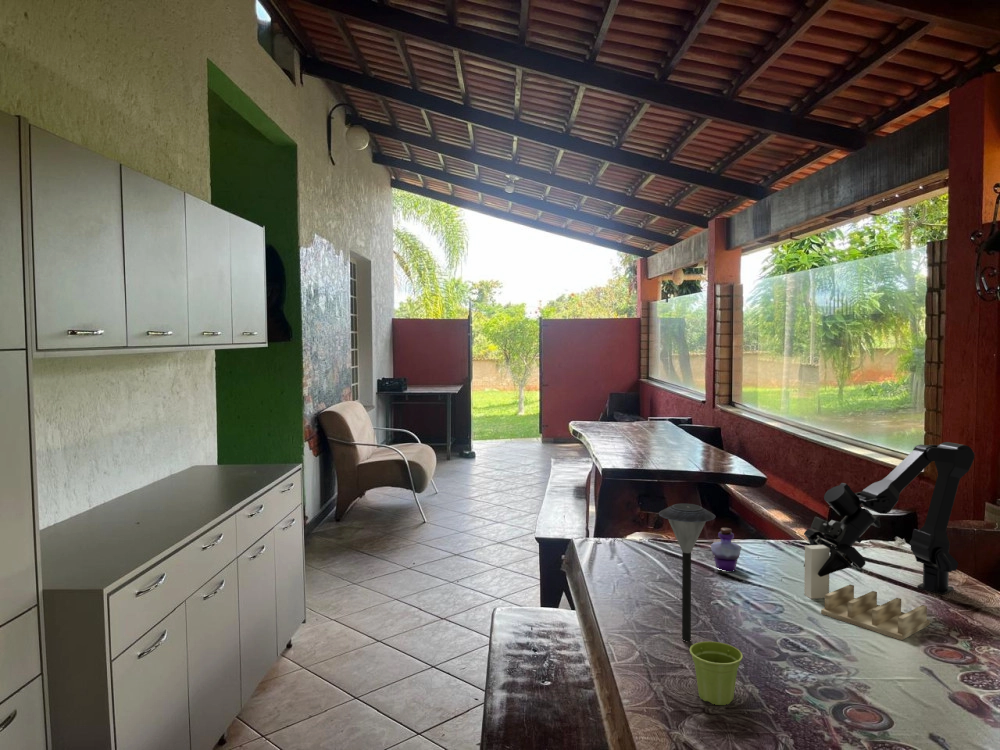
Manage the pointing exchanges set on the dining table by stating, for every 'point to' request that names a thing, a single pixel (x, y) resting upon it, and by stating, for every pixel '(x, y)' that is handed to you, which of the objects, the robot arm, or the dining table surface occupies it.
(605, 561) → the dining table surface
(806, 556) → the cream rectangular block
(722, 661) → the plant pot
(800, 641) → the dining table surface
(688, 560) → the solar garden light
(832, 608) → the ridged tan cradle
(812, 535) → the robot arm
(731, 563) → the potion bottle
